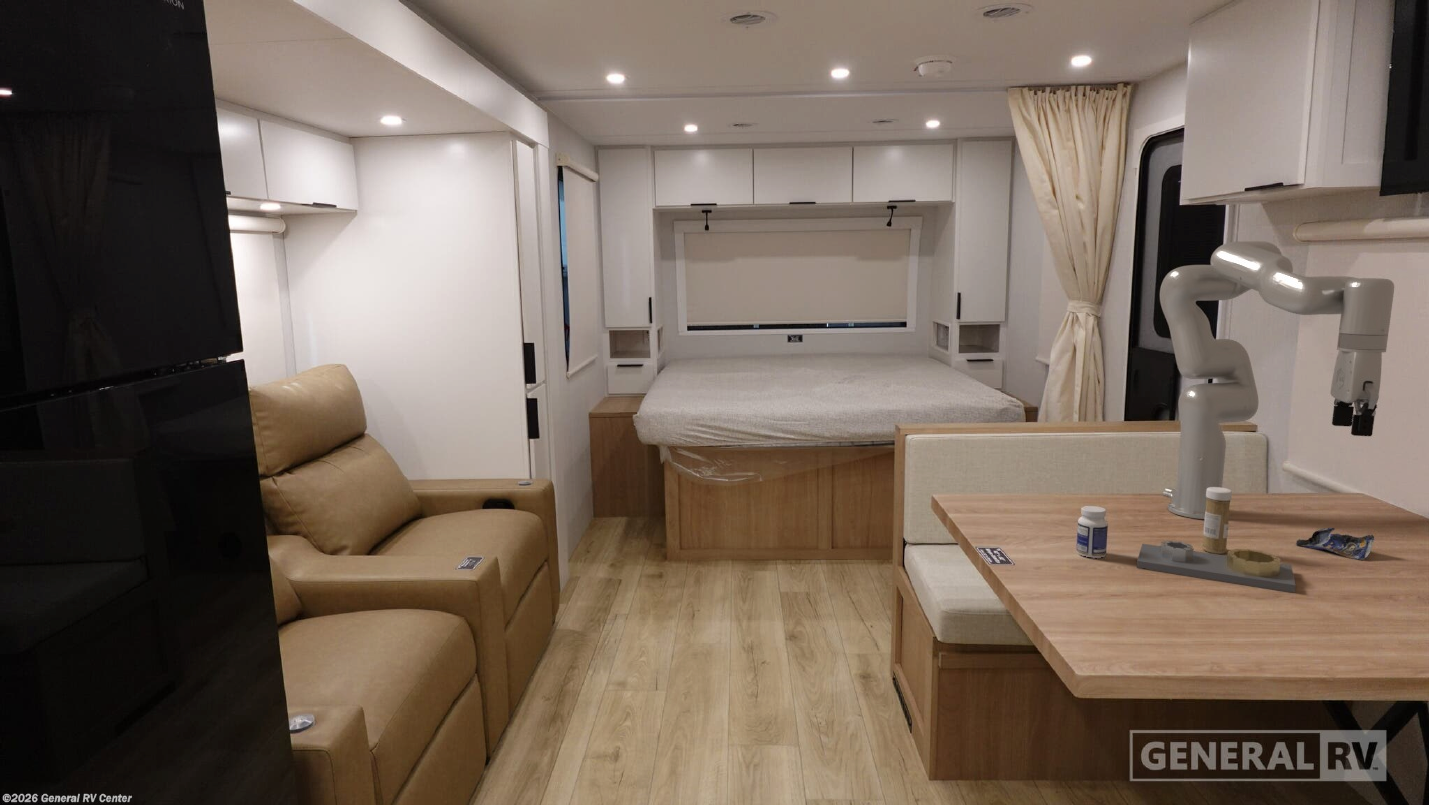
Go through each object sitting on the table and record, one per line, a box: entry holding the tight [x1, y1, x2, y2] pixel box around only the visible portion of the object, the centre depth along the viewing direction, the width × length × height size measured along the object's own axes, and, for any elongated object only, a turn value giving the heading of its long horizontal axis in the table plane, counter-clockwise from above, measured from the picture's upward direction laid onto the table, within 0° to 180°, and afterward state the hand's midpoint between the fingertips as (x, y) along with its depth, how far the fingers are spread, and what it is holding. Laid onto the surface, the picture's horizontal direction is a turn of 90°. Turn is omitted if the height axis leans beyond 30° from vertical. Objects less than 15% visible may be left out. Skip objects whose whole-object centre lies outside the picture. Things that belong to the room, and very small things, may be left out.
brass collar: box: [1226, 548, 1281, 577], centre depth 160 cm, size 8×8×2 cm
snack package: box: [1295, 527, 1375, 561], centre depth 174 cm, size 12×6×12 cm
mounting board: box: [1136, 543, 1296, 594], centre depth 164 cm, size 26×12×2 cm, turn 58°
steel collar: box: [1159, 540, 1195, 562], centre depth 167 cm, size 6×6×2 cm
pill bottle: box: [1075, 505, 1109, 559], centre depth 173 cm, size 6×6×10 cm
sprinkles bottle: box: [1201, 487, 1233, 555], centre depth 174 cm, size 5×5×13 cm
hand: (1351, 430), depth 162 cm, fingers open, 9 cm apart
